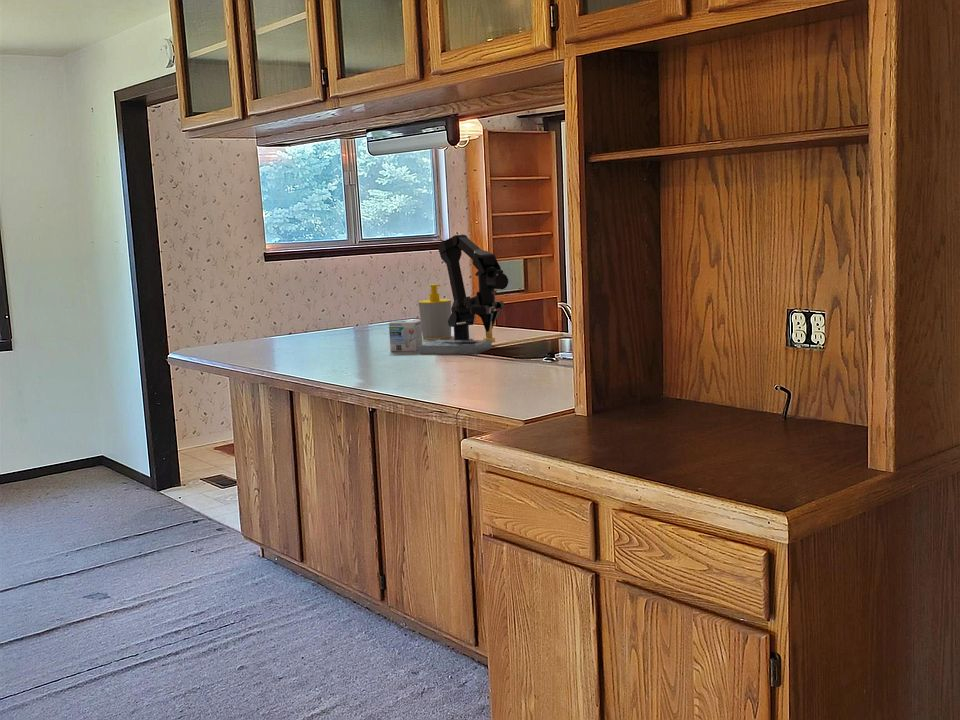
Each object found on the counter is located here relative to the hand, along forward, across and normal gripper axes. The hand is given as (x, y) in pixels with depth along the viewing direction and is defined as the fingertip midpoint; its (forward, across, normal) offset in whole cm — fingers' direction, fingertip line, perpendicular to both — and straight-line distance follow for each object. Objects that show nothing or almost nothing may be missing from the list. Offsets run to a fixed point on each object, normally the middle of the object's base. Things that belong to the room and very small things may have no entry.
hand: (488, 330), depth 347 cm
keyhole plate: (+6, +12, -8) cm, 15 cm away
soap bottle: (+6, -24, -33) cm, 41 cm away
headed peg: (+4, 0, 0) cm, 4 cm away
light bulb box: (+6, +10, -29) cm, 31 cm away
